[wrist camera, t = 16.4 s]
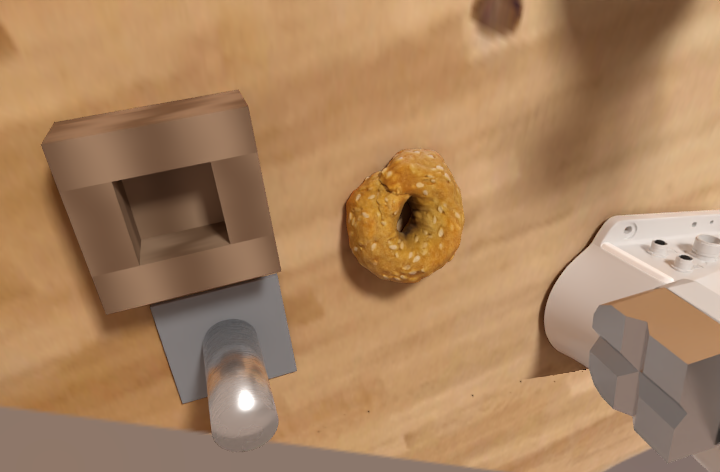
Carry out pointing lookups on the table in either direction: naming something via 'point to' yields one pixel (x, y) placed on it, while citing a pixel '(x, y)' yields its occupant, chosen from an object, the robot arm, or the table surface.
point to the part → (238, 387)
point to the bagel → (425, 227)
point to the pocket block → (165, 198)
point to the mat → (203, 310)
